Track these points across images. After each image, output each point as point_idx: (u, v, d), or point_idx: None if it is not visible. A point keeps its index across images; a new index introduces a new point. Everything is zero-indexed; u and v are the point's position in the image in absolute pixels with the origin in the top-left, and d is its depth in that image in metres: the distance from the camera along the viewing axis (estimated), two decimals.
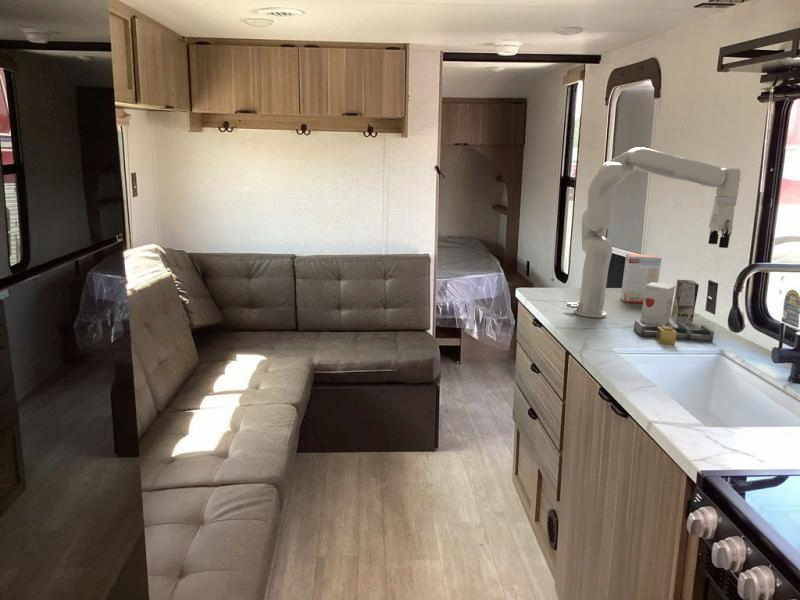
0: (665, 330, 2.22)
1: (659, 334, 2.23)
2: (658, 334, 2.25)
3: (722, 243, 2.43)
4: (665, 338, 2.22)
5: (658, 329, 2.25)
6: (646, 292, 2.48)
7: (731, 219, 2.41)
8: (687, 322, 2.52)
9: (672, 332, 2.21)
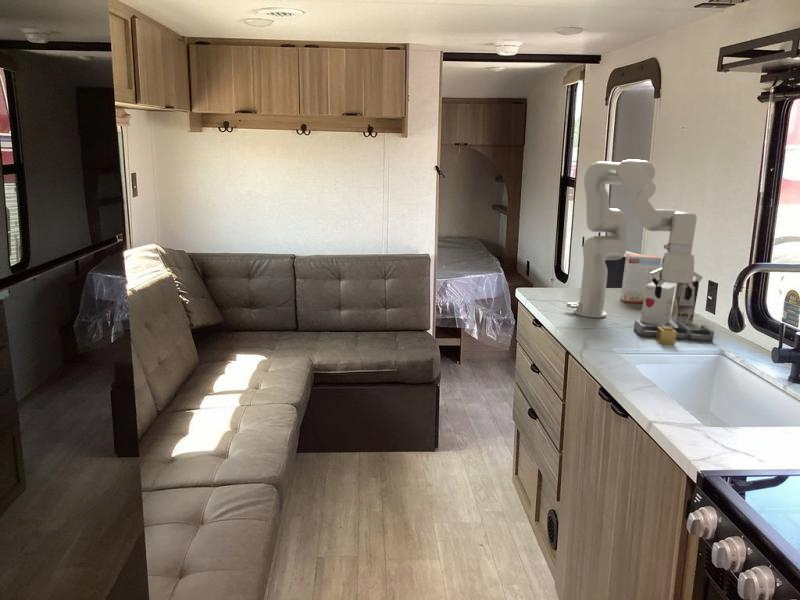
0: (665, 330, 2.22)
1: (659, 334, 2.23)
2: (658, 334, 2.25)
3: (690, 295, 2.19)
4: (665, 338, 2.22)
5: (658, 329, 2.25)
6: (646, 292, 2.48)
7: None
8: (687, 322, 2.52)
9: (672, 332, 2.21)
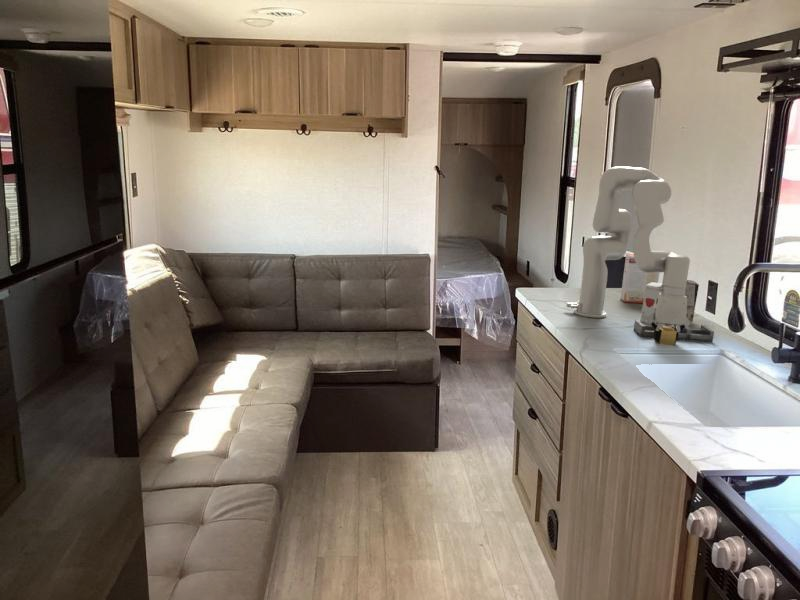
0: (665, 330, 2.22)
1: None
2: None
3: None
4: (665, 338, 2.22)
5: None
6: (646, 292, 2.48)
7: None
8: None
9: (672, 332, 2.21)
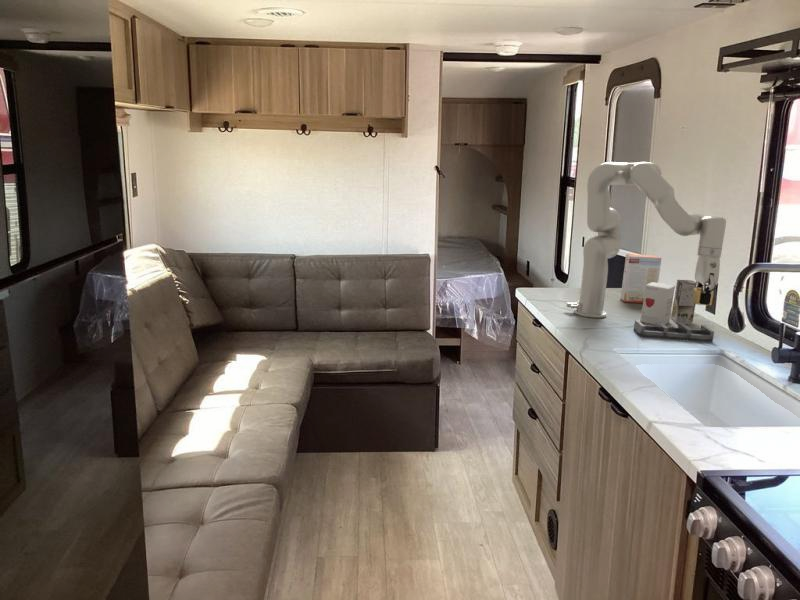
0: None
1: None
2: None
3: None
4: None
5: None
6: (646, 292, 2.48)
7: None
8: (687, 322, 2.52)
9: None
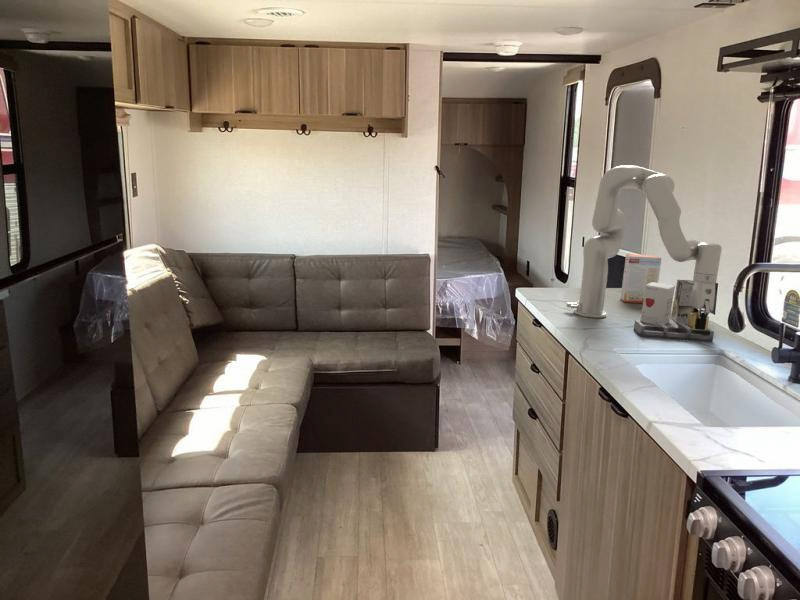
0: None
1: None
2: None
3: None
4: None
5: None
6: (646, 292, 2.48)
7: None
8: (687, 322, 2.52)
9: None
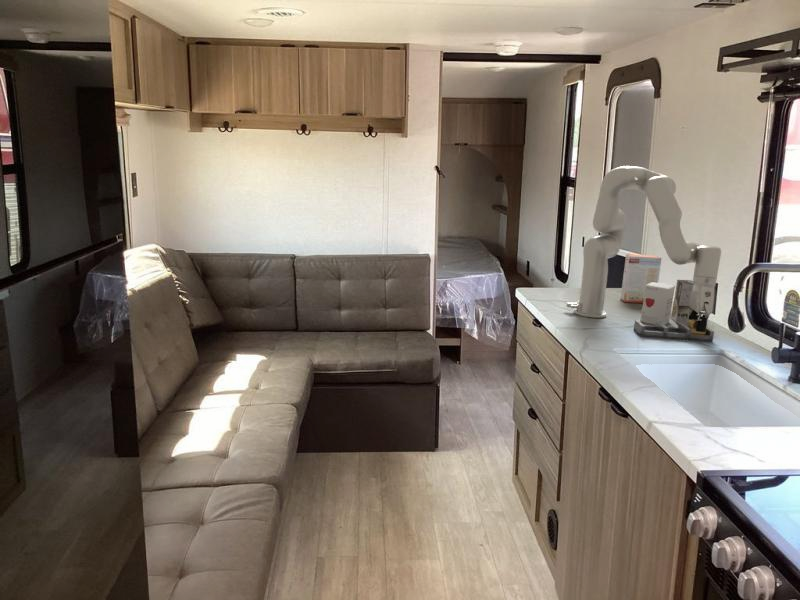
0: None
1: None
2: None
3: None
4: None
5: None
6: (646, 292, 2.48)
7: None
8: None
9: None
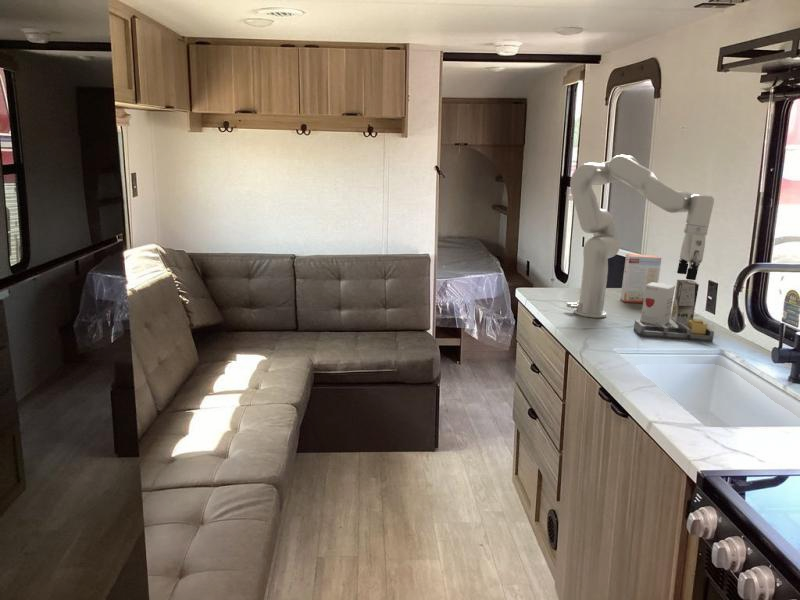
0: (704, 323, 2.30)
1: (701, 329, 2.30)
2: (697, 329, 2.30)
3: None
4: None
5: (697, 325, 2.29)
6: (646, 292, 2.48)
7: None
8: None
9: None
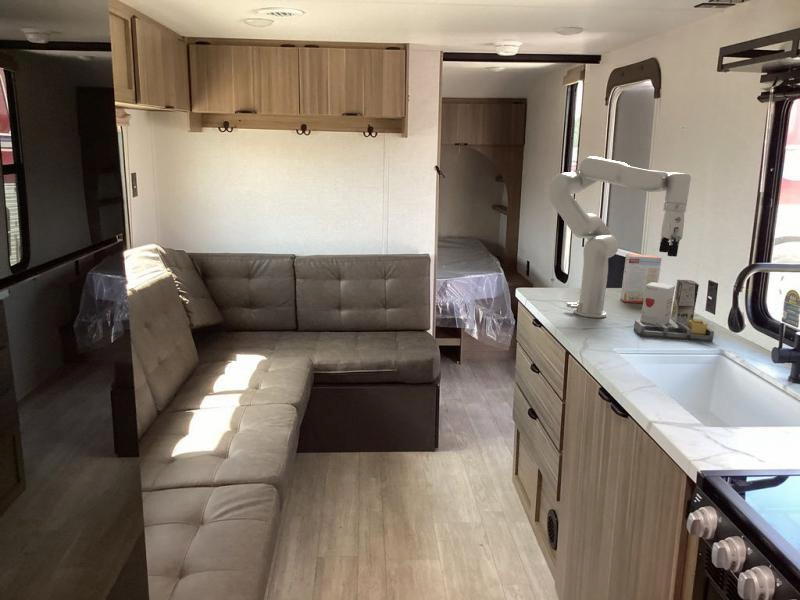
0: (704, 323, 2.30)
1: (701, 329, 2.30)
2: (697, 329, 2.30)
3: None
4: None
5: (697, 325, 2.29)
6: (646, 292, 2.48)
7: None
8: None
9: None
